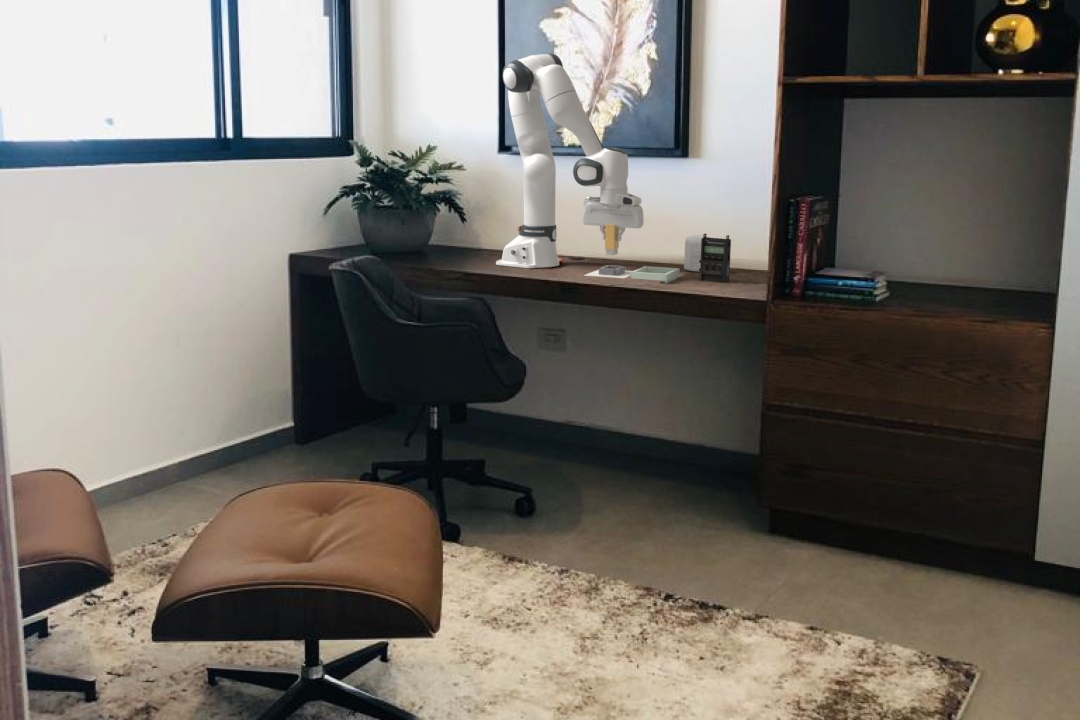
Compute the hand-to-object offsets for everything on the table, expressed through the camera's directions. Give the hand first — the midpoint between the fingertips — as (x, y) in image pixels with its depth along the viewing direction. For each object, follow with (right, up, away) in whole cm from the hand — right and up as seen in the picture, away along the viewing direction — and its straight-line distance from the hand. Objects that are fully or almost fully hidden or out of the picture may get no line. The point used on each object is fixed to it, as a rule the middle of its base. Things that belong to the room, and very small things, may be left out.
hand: (612, 240), depth 364 cm
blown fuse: (0, -5, +1) cm, 5 cm away
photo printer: (+30, -9, +14) cm, 35 cm away
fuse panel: (0, -12, +2) cm, 12 cm away
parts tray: (+14, -13, -3) cm, 19 cm away
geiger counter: (+32, -14, -6) cm, 36 cm away
